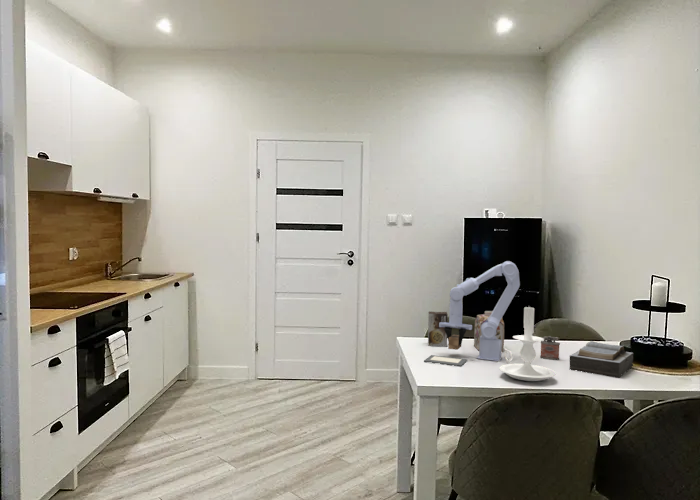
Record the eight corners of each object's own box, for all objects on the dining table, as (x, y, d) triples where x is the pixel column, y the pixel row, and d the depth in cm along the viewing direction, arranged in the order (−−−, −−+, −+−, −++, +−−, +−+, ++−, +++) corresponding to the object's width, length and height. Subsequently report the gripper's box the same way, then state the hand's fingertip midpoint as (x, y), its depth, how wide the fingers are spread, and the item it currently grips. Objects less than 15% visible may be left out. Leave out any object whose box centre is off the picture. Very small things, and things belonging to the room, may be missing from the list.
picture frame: (467, 360, 235) (467, 358, 234) (461, 366, 224) (461, 364, 224) (431, 356, 241) (431, 354, 241) (423, 362, 230) (423, 360, 230)
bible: (644, 370, 226) (645, 346, 226) (615, 380, 209) (616, 355, 208) (590, 359, 244) (590, 337, 244) (558, 368, 227) (559, 344, 226)
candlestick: (524, 367, 225) (526, 300, 224) (567, 383, 202) (570, 308, 201) (482, 370, 218) (484, 301, 217) (522, 388, 195) (524, 310, 194)
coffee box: (446, 344, 268) (447, 311, 268) (447, 346, 262) (448, 313, 261) (427, 343, 269) (428, 311, 269) (428, 346, 263) (429, 312, 262)
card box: (461, 346, 246) (461, 335, 245) (457, 349, 238) (457, 338, 238) (452, 345, 247) (452, 334, 247) (448, 348, 240) (448, 337, 240)
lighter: (539, 358, 242) (540, 336, 242) (540, 356, 245) (541, 334, 245) (558, 360, 238) (559, 338, 238) (559, 359, 241) (560, 336, 241)
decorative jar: (503, 352, 253) (505, 313, 253) (478, 351, 254) (480, 313, 253) (497, 346, 265) (498, 310, 265) (473, 346, 265) (474, 309, 265)
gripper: (437, 313, 241) (436, 344, 242) (470, 316, 236) (469, 347, 236) (441, 311, 248) (440, 341, 248) (473, 314, 242) (472, 344, 242)
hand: (455, 344), depth 243 cm, fingers closed on card box, 4 cm apart
